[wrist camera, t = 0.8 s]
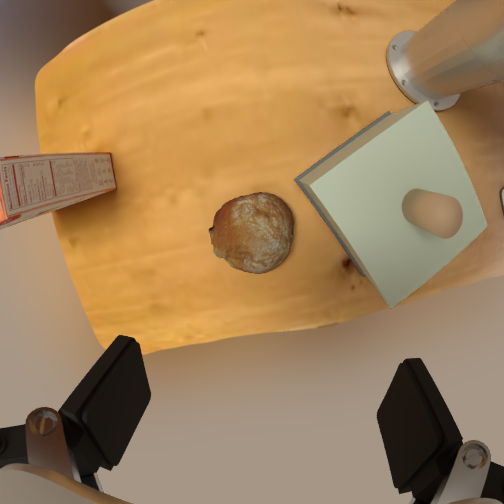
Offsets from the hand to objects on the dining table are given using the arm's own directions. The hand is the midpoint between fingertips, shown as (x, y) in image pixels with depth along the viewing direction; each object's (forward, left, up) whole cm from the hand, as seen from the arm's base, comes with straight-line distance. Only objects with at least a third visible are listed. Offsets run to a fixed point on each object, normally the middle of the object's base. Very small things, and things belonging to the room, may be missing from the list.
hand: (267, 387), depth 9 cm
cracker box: (+19, -23, -28) cm, 41 cm away
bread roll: (+3, -1, -28) cm, 29 cm away
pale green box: (-13, +5, -28) cm, 31 cm away
